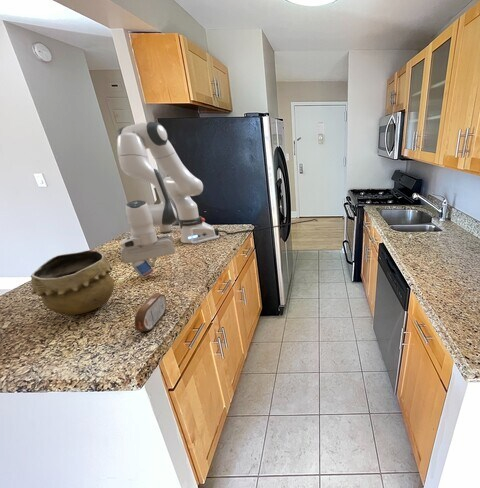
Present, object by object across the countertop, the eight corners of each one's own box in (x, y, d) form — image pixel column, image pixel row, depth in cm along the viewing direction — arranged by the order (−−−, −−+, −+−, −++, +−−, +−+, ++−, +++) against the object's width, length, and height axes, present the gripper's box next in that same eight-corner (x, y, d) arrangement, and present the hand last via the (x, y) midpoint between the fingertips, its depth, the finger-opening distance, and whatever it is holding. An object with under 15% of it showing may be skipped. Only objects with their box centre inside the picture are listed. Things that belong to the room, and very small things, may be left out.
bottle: (168, 233, 174) (158, 188, 163) (158, 233, 174) (147, 188, 163) (174, 230, 180) (164, 186, 169) (164, 230, 180) (154, 186, 169)
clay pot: (108, 321, 89) (89, 269, 81) (30, 333, 83) (2, 279, 76) (132, 290, 107) (117, 245, 100) (69, 298, 102) (49, 251, 94)
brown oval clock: (161, 308, 95) (156, 289, 92) (170, 308, 96) (165, 288, 93) (137, 337, 82) (130, 315, 78) (148, 336, 82) (141, 314, 79)
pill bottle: (156, 269, 121) (143, 252, 115) (148, 276, 116) (135, 260, 111) (146, 270, 122) (133, 254, 117) (138, 278, 117) (124, 261, 112)
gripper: (171, 232, 122) (177, 259, 127) (117, 240, 111) (126, 269, 116) (173, 235, 117) (179, 263, 122) (116, 245, 106) (125, 275, 111)
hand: (152, 266), depth 119 cm, fingers closed
